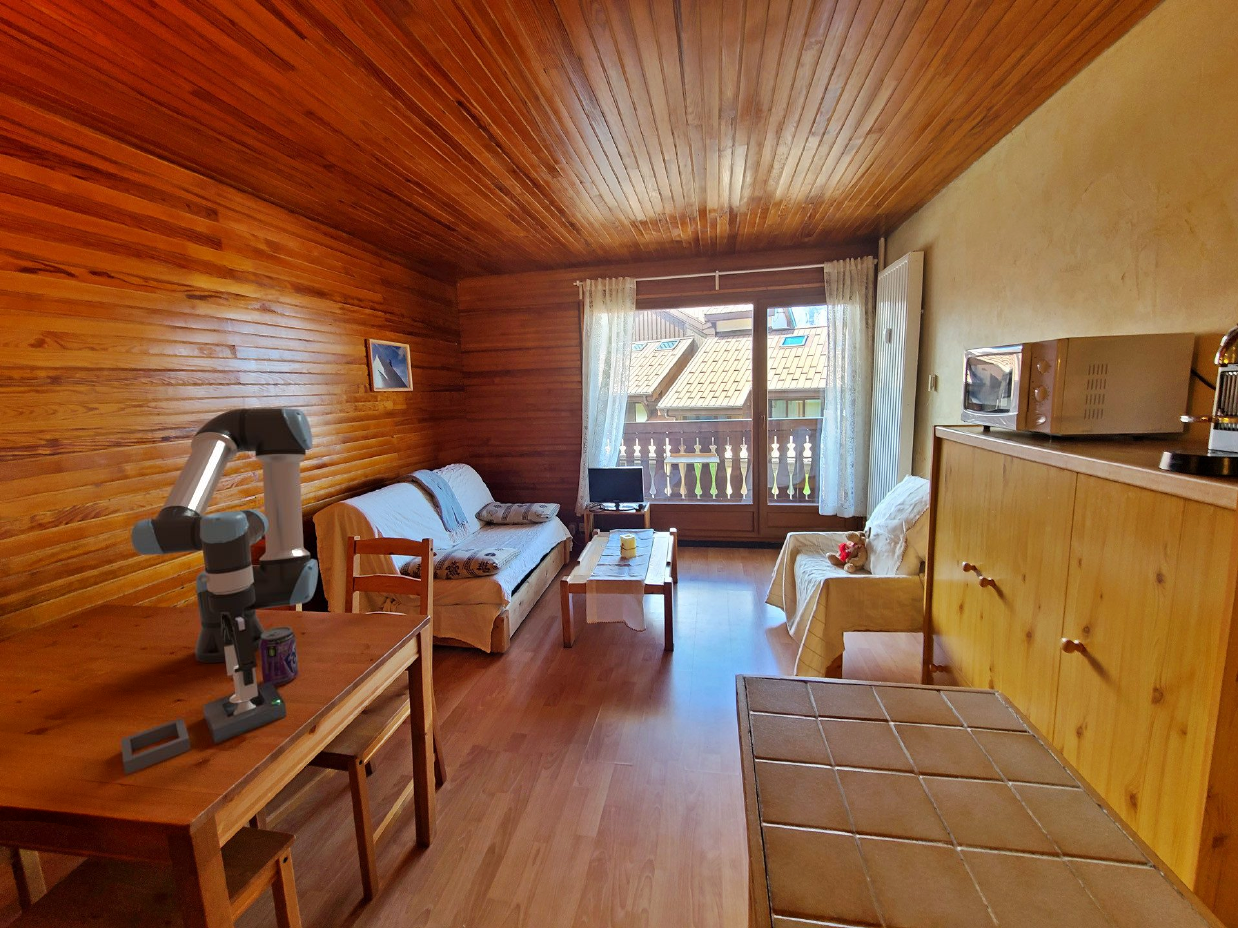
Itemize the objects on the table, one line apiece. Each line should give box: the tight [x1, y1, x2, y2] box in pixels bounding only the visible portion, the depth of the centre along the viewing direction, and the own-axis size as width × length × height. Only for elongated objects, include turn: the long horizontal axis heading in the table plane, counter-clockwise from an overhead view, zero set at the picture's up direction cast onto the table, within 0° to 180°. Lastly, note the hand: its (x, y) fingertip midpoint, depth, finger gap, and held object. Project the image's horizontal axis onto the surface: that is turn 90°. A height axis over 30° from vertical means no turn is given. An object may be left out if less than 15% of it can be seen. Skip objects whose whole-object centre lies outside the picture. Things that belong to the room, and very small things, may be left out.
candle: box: [229, 665, 257, 716], centre depth 106 cm, size 5×5×12 cm
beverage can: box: [259, 626, 300, 686], centre depth 120 cm, size 7×7×12 cm
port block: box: [202, 681, 287, 745], centre depth 106 cm, size 12×12×3 cm
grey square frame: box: [120, 717, 191, 776], centre depth 96 cm, size 9×9×2 cm
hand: (242, 684), depth 106 cm, fingers open, 13 cm apart
